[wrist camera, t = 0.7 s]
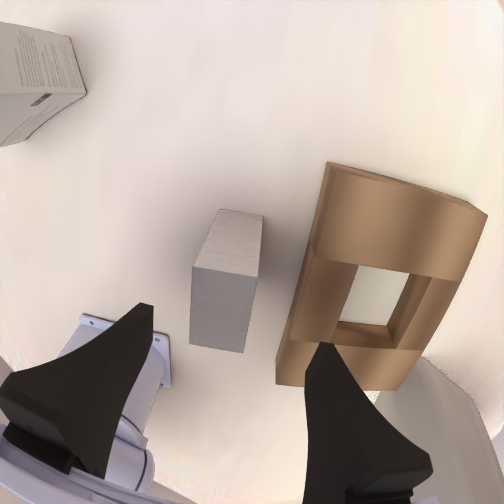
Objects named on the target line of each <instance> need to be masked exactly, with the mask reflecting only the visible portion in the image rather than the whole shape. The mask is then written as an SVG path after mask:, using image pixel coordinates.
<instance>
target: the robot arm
mask: <svg viewBox="0 0 504 504" xmlns="http://www.w3.org/2000/svg"><path fill="white" fill-rule="evenodd" d="M153 308H154V306H152V305H148V304H144V303H139V304H137V305H136V306H135V307H134V308H132V309H131V310H130V311H129V312H128V313H127V314H125V315H124V316H123V317H122V318H120V319H119V320H118V321H117V322H115V323H112V322H109V321H105V320H101V319H98V318H94V317H90V316H87V315H81V316H80V323H81V324H80V326H79V327H78V328H77V330H76V331H75V333H74V334H73V336H72V337H71V338H70V340H69V341H68V343H67V344H66V346H65V347H64V349H63V350H62V351H61V353H60V354H59V356H58V357H57V359H55V360H53V361H50V362H47V363H45V364H42V365H39V366H36V367H33V368H29V369H25V370H21V371H17V372H13V373H10V374H9V376H8V377H7V378H6V379H5V381H4V382H3V384H2V385H1V387H0V408H1V410H2V411H3V413H4V414H5V415H6V417H7V418H8V419H9V421H10V422H9V424H8V426H6V425H5V424H4V423H2V422H1V421H0V485H2V486H3V487H4V488H6V489H7V490H9V491H10V492H12V493H13V494H15V495H16V496H18V497H20V498H21V499H23V500H24V501H26V502H27V503H29V504H181V503H177V502H173V501H169V500H165V499H160V498H157V497H154V496H150V495H147V492H148V491H149V489H150V487H151V484H152V481H153V478H154V472H155V464H154V460H153V456H152V453H151V452H150V451H149V450H148V449H145V448H146V445H147V442H148V438H146V437H144V436H143V435H142V434H143V431H144V428H145V425H146V422H147V419H148V417H149V414H150V411H151V408H152V405H153V402H154V399H155V396H156V393H157V390H158V388H159V387H162V388H167V389H168V388H170V386H171V376H170V358H169V339H168V337H167V336H165V335H162V334H158V333H153ZM157 338H159V339H157ZM304 394H305V406H306V417H307V428H308V459H307V472H306V481H305V490H304V497H303V503H302V504H439V502H438V497H437V496H433V497H429V498H425V499H421V500H417V501H414V502H411V501H410V497H412V496H413V495H414V493H413V488H415V487H416V486H418V485H419V484H421V483H422V482H424V481H425V480H427V479H428V478H429V477H430V476H431V475H432V474H433V471H434V470H433V466H432V462H431V459H430V455H429V453H427V452H426V451H424V450H423V449H421V448H420V447H418V446H417V445H415V444H414V443H412V442H411V441H410V440H409V439H407V438H406V437H405V436H404V435H402V434H401V433H400V432H399V431H398V430H397V429H396V428H395V427H394V426H393V425H392V424H390V423H389V422H388V421H387V420H386V419H385V417H384V416H383V415H382V414H381V413H380V412H379V411H378V410H377V408H376V407H375V406H374V405H373V404H372V402H371V401H370V400H369V399H368V397H367V396H366V395H365V393H364V392H363V390H362V389H361V388H360V386H359V385H358V383H357V382H356V380H355V379H354V377H353V375H352V374H351V372H350V371H349V369H348V367H347V366H346V364H345V362H344V361H343V359H342V357H341V355H340V354H339V352H338V350H337V349H336V347H335V345H334V344H333V343H327V342H321V341H320V343H319V345H318V347H317V349H316V351H315V353H314V355H313V357H312V359H311V361H310V363H309V365H308V367H307V369H306V371H305V387H304Z"/></svg>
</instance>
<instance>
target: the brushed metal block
mask: <svg viewBox="0 0 504 504" xmlns="http://www.w3.org/2000/svg"><path fill="white" fill-rule="evenodd" d="M262 222H263V216H261V215H255V214H249V213H243V212H237V211H230V210H224V209H220V210H219V212H218V214H217V216H216V218H215V220H214V222H213V224H212V226H211V228H210V230H209V233H208V235H207V237H206V239H205V241H204V243H203V245H202V247H201V249H200V252H199V254H198V256H197V258H196V260H195V262H194V264H193V269H192V286H191V308H190V336H189V344H193V345H199V346H204V347H209V348H215V349H221V350H227V351H233V352H239V353H243V351H244V346H245V341H246V336H247V331H248V325H249V320H250V315H251V310H252V305H253V299H254V294H255V289H256V284H257V278H258V268H259V257H260V246H261V234H262Z"/></svg>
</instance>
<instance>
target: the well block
mask: <svg viewBox="0 0 504 504" xmlns="http://www.w3.org/2000/svg"><path fill="white" fill-rule="evenodd" d="M487 217H488V215H487V214H485V213H484V212H482V211H481V210H479V209H478V208H476V207H475V206H473V205H472V204H470V203H469V202H467V201H464V200H461V199H458V198H455V197H453V196H450V195H447V194H444V193H441V192H437V191H434V190H431V189H428V188H425V187H421V186H418V185H415V184H411V183H408V182H405V181H401V180H398V179H394V178H390V177H387V176H383V175H379V174H375V173H371V172H368V171H364V170H359V169H355V168H351V167H347V166H343V165H338V164H334V163H329V162H327V165H326V169H325V174H324V178H323V183H322V187H321V192H320V196H319V200H318V205H317V209H316V213H315V217H314V222H313V226H312V230H311V234H310V238H309V242H308V246H307V250H306V254H305V258H304V262H303V265H302V269H301V273H300V277H299V281H298V284H297V288H296V292H295V295H294V299H293V303H292V306H291V310H290V313H289V317H288V320H287V324H286V327H285V331H284V334H283V338H282V341H281V344H280V348H279V351H278V354H277V358H276V384H277V385H286V386H296V387H305V371H306V369H307V367H308V365H309V363H310V361H311V359H312V357H313V355H314V353H315V351H316V349H317V347H318V345H319V343H320V341H321V342H327V343H333V344H334V345H335V347H336V349H337V350H338V352H339V354H340V355H341V357H342V359H343V361H344V362H345V364H346V366H347V367H348V369H349V371H350V372H351V374H352V375H353V377H354V379H355V380H356V382H357V383H358V385H359V386H360V388H361V389H362V390H364V391H397V390H398V389H399V387H400V386H401V384H402V383H403V381H404V380H405V379H406V377H407V376H408V374H409V373H410V371H411V370H412V368H413V367H414V365H415V364H416V362H417V361H418V359H419V357H420V356H421V354H422V353H423V351H424V349H425V348H426V346H427V345H428V343H429V341H430V340H431V338H432V336H433V334H434V333H435V331H436V329H437V328H438V326H439V324H440V322H441V320H442V319H443V317H444V315H445V313H446V311H447V309H448V307H449V305H450V303H451V302H452V300H453V298H454V296H455V294H456V292H457V289H458V287H459V285H460V283H461V281H462V279H463V277H464V275H465V272H466V270H467V268H468V266H469V263H470V261H471V259H472V256H473V254H474V252H475V249H476V247H477V244H478V242H479V239H480V236H481V234H482V231H483V228H484V226H485V223H486V220H487ZM359 265H363V266H369V267H375V268H381V269H387V270H393V271H399V272H404V273H410V276H409V278H408V280H407V283H406V285H405V287H404V290H403V292H402V294H401V296H400V299H399V301H398V303H397V305H396V307H395V309H394V312H393V314H392V316H391V318H390V320H389V322H388V324H387V326H378V325H368V324H358V323H349V322H340V321H338V320H339V317H340V315H341V312H342V310H343V307H344V304H345V302H346V299H347V297H348V294H349V291H350V288H351V286H352V283H353V280H354V277H355V274H356V272H357V269H358V266H359Z"/></svg>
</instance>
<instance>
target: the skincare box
mask: <svg viewBox="0 0 504 504" xmlns="http://www.w3.org/2000/svg"><path fill="white" fill-rule="evenodd" d="M85 95H86V91H85V87H84V84H83V81H82V78H81V75H80V71H79V68H78V65H77V61H76V58H75V54H74V50H73V47H72V43H71V40H70V37H68V36H64V35H60V34H56V33H53V32H49V31H44V30H40V29H36V28H31V27H26V26H21V25H16V24H11V23H5V22H0V147H4V146H8V145H12V144H16V143H20V142H22V141H24V140H25V139H26V138H27V137H28V136H29V135H30V134H31V133H32V132H34V131H35V130H36V129H37V128H38V127H39V126H41V125H42V124H43V123H44V122H46V121H47V120H48V119H50V118H51V117H52V116H54V115H55V114H56V113H58V112H59V111H61V110H62V109H64V108H65V107H67V106H68V105H70V104H72V103H73V102H75V101H77V100H79V99H80V98H82V97H83V96H85Z"/></svg>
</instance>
